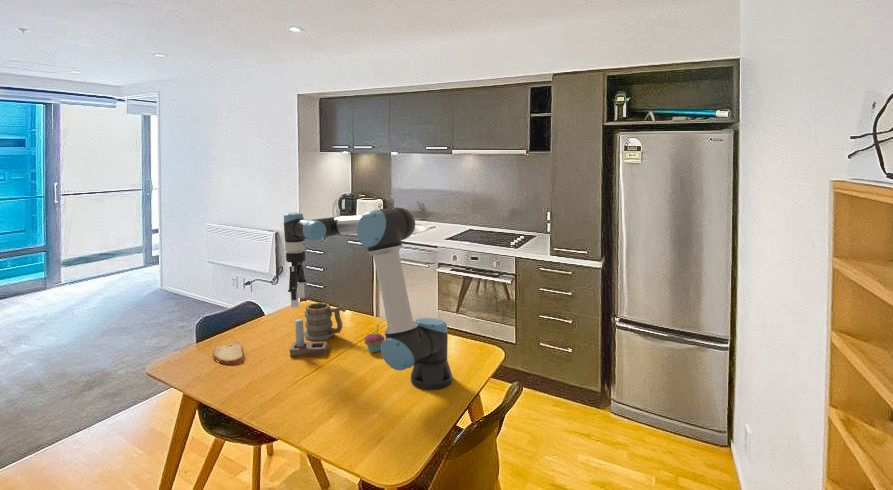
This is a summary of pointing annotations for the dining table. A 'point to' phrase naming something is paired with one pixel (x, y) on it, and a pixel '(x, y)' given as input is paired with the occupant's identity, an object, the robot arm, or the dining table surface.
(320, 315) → the tankard
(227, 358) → the bread slice
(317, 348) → the hole block
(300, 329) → the dowel
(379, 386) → the dining table surface
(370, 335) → the cupcake
